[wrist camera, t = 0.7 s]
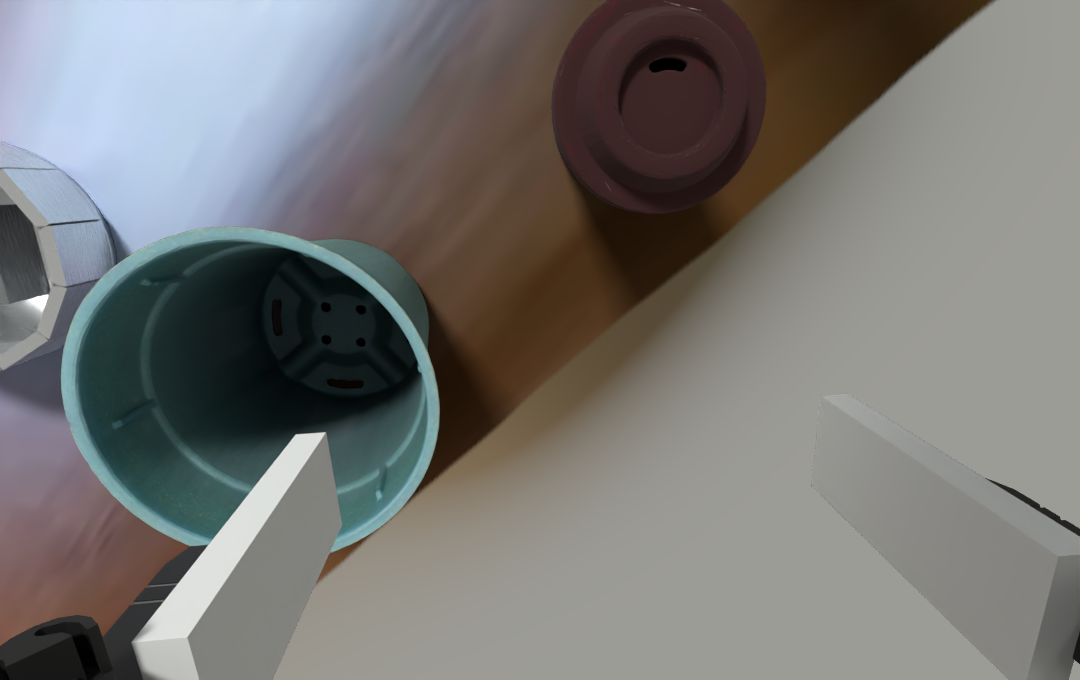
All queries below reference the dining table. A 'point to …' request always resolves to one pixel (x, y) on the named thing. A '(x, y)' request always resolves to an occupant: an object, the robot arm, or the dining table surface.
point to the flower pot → (250, 376)
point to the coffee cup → (658, 102)
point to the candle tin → (44, 254)
